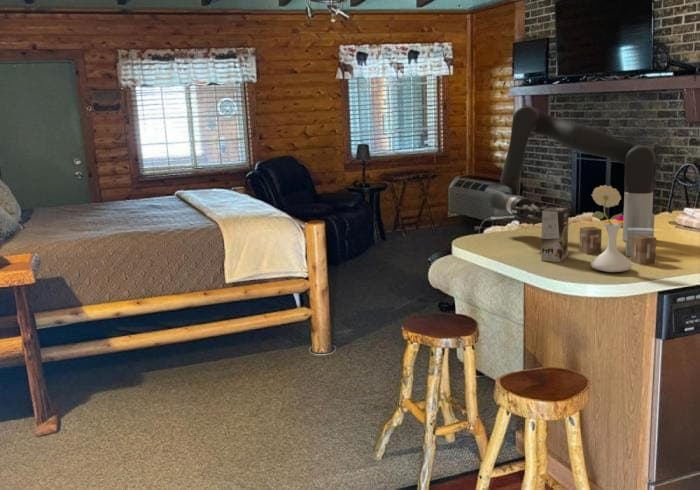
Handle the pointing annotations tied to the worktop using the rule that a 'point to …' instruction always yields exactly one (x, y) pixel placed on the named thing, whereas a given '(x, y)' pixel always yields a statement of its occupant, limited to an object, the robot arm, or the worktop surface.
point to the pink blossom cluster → (616, 220)
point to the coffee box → (554, 234)
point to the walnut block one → (643, 249)
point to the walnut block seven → (590, 240)
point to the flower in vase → (609, 233)
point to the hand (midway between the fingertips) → (539, 214)
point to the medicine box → (635, 232)
